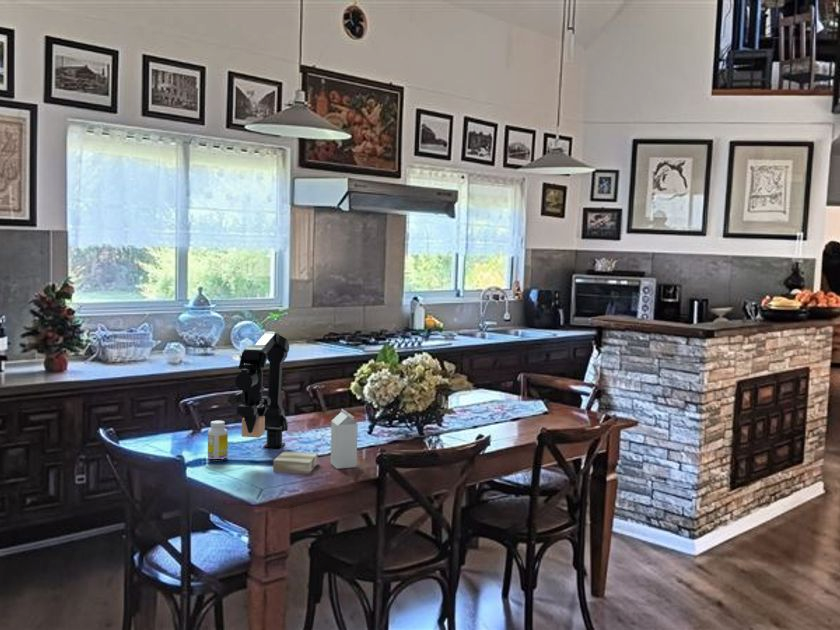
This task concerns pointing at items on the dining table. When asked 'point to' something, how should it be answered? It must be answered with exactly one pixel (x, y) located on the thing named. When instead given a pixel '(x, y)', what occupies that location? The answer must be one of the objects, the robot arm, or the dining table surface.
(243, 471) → the dining table surface
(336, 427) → the milk carton
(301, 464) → the birch block
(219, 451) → the supplement bottle
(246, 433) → the tan cube
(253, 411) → the robot arm
